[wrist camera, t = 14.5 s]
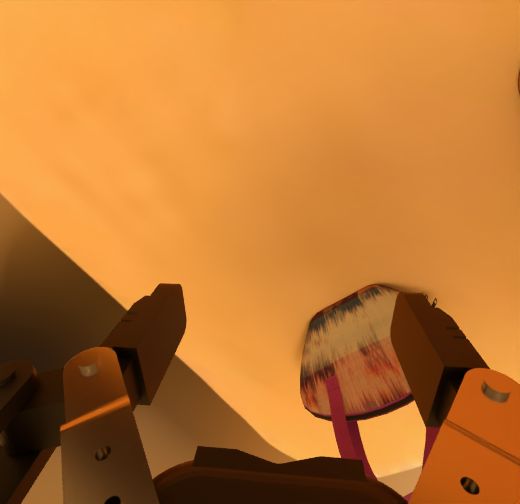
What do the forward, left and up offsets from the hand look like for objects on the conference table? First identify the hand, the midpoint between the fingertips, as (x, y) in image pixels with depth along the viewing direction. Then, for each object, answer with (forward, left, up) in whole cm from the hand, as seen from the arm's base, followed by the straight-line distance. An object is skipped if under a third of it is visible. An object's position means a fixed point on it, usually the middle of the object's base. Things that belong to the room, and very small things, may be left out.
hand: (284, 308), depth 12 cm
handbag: (-11, +23, -30) cm, 40 cm away
